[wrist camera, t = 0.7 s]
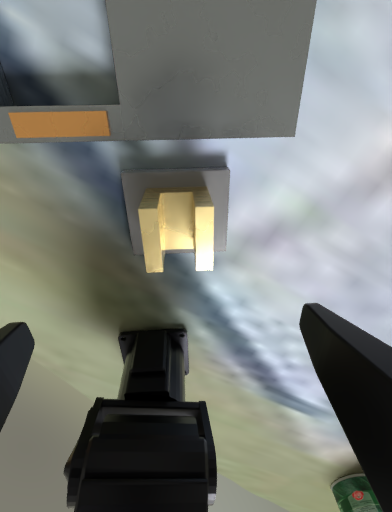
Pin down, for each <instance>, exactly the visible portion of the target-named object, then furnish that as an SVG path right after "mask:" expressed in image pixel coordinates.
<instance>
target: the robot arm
mask: <svg viewBox="0 0 392 512" xmlns="http://www.w3.org/2000/svg"><path fill="white" fill-rule="evenodd" d="M299 325H300V330H301V333H302V336H303V338H304V341H305V344H306V347H307V350H308V352H309V355H310V358H311V361H312V364H313V366H314V369H315V371H316V374H317V376H318V378H319V380H320V382H321V384H322V386H323V389H324V391H325V393H326V395H327V397H328V399H329V401H330V403H331V405H332V407H333V409H334V411H335V413H336V416H337V418H338V420H339V422H340V424H341V426H342V428H343V430H344V432H345V434H346V436H347V438H348V440H349V443H350V445H351V447H352V449H353V451H354V453H355V455H356V457H357V459H358V461H359V463H360V465H361V467H362V469H363V472H364V474H365V476H366V478H367V480H368V482H369V484H370V486H371V488H372V490H373V492H374V494H375V496H376V499H377V501H378V503H379V505H380V507H381V509H382V511H383V512H392V347H391V346H389V345H387V344H386V343H384V342H382V341H381V340H379V339H377V338H375V337H374V336H372V335H370V334H369V333H367V332H365V331H364V330H362V329H360V328H359V327H357V326H355V325H354V324H352V323H350V322H349V321H347V320H345V319H343V318H342V317H340V316H338V315H337V314H335V313H333V312H332V311H330V310H328V309H327V308H325V307H323V306H322V305H320V304H318V303H306V304H304V306H303V308H302V313H301V318H300V323H299ZM124 337H125V338H124ZM118 340H119V344H120V349H121V353H122V357H123V361H124V370H123V374H122V379H121V384H120V389H119V394H118V398H117V399H104V398H103V397H97V398H96V400H95V403H94V405H93V407H91V409H90V410H89V411H88V414H87V418H86V421H85V424H84V427H83V430H82V432H81V435H80V437H79V440H78V441H77V443H76V445H75V447H74V449H73V451H72V453H71V455H70V457H69V459H68V460H67V462H66V465H65V468H64V476H65V477H66V479H67V481H68V487H67V489H68V493H67V507H68V508H75V509H74V512H208V505H213V504H214V501H215V496H216V487H217V465H216V453H215V446H214V441H213V436H212V431H211V426H210V421H209V416H208V411H207V407H206V402H205V401H199V402H185V375H187V374H188V373H189V363H188V341H187V331H186V330H185V329H168V330H150V331H132V332H121V333H120V334H119V337H118ZM34 345H35V343H34V339H33V336H32V334H31V332H30V330H29V328H28V326H27V324H26V323H25V322H13V323H9V324H7V325H6V326H4V327H2V328H1V329H0V432H1V429H2V427H3V425H4V423H5V421H6V418H7V416H8V414H9V412H10V410H11V408H12V406H13V403H14V401H15V399H16V397H17V394H18V392H19V389H20V387H21V384H22V381H23V378H24V375H25V372H26V369H27V366H28V364H29V361H30V358H31V355H32V352H33V349H34Z"/></svg>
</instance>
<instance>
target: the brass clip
mask: <svg viewBox="0 0 392 512" xmlns="http://www.w3.org/2000/svg"><path fill="white" fill-rule="evenodd" d="M138 212H139V220H140V227H141V235H142V242H143V250H144V257H145V265H146V272H147V273H152V272H163V269H164V258H165V250H170V249H194V254H195V263H196V270H213V234H214V205H213V202H212V199H211V197H210V194H209V191H208V188H207V186H204V187H172V188H146V190H145V193H144V195H143V198H142V200H141V203H140V206H139V208H138Z"/></svg>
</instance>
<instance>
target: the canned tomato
mask: <svg viewBox="0 0 392 512" xmlns="http://www.w3.org/2000/svg"><path fill="white" fill-rule="evenodd" d="M331 490H332V491H333V494H334V496H335V499H336V502H337V504H338V506H339V509H340V511H341V512H383V511H382V509H381V507H380V505H379V503H378V501H377V499H376V496H375V494H374V492H373V490H372V488H371V486H370V484H369V482H368V480H367V478H366V476H365V474H364V473H358V474H352V475H347V476H344V477H341V478H339V479H337V480H336V481H334V482H333V483H332V484H331Z"/></svg>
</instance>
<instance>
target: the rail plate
mask: <svg viewBox="0 0 392 512" xmlns="http://www.w3.org/2000/svg"><path fill="white" fill-rule="evenodd" d="M316 1H317V0H105V2H106V9H107V16H108V23H109V30H110V37H111V45H112V52H113V59H114V66H115V73H116V80H117V87H118V94H119V101H120V105H69V106H14V103H13V100H12V97H11V94H10V91H9V88H8V85H7V82H6V78H5V75H4V72H3V69H2V66H1V63H0V143H42V142H86V141H129V140H173V139H216V138H260V137H295V131H296V125H297V118H298V112H299V106H300V100H301V94H302V87H303V81H304V75H305V69H306V63H307V57H308V50H309V44H310V38H311V32H312V26H313V19H314V13H315V7H316Z"/></svg>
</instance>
